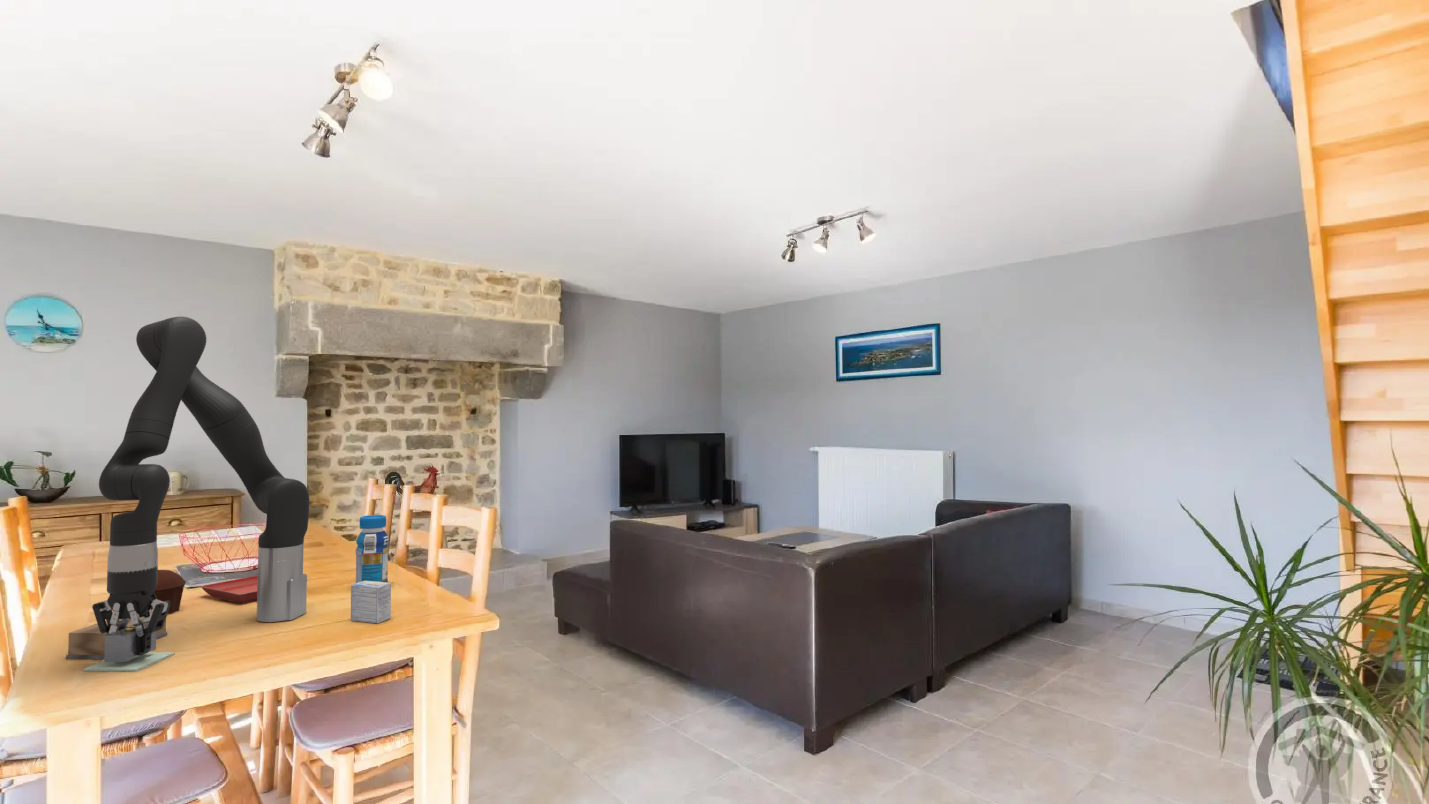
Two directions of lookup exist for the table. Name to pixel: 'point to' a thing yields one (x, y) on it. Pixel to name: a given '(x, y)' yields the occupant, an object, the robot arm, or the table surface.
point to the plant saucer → (234, 589)
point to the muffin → (169, 589)
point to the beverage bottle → (372, 550)
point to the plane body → (94, 642)
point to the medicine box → (370, 601)
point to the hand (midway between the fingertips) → (130, 653)
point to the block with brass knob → (124, 645)
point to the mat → (130, 663)
